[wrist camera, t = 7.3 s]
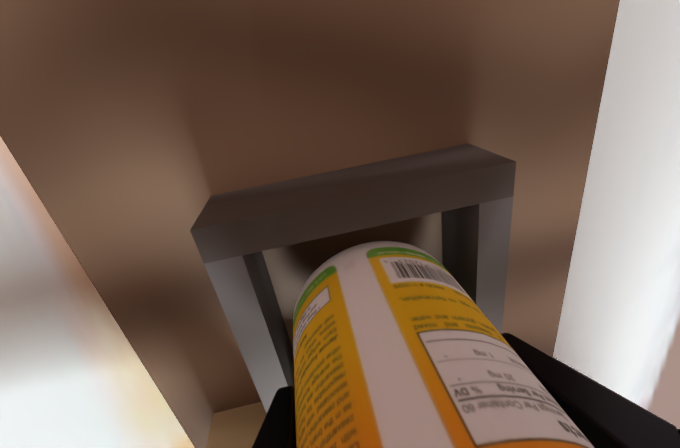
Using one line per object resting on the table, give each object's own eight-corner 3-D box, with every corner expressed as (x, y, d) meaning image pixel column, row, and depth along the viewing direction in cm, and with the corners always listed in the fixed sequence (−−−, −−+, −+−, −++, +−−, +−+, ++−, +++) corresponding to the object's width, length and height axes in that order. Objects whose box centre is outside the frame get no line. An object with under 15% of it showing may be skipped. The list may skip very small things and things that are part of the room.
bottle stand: (538, 379, 18) (662, 530, 12) (215, 463, 17) (177, 677, 11) (618, -94, 9) (1235, -403, 3) (-55, 12, 8) (-1067, -169, 2)
